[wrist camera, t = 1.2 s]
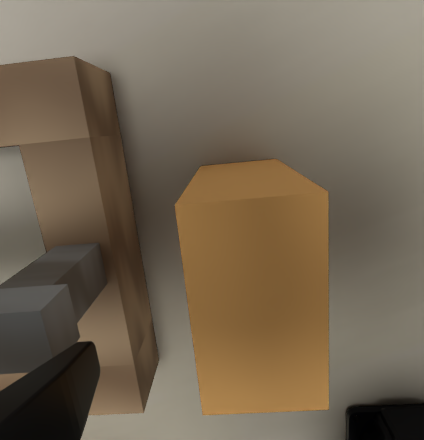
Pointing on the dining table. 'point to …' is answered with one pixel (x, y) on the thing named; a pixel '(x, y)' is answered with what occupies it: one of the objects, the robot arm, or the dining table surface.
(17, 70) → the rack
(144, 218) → the dining table surface
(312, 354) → the orange arch block
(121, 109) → the dining table surface
